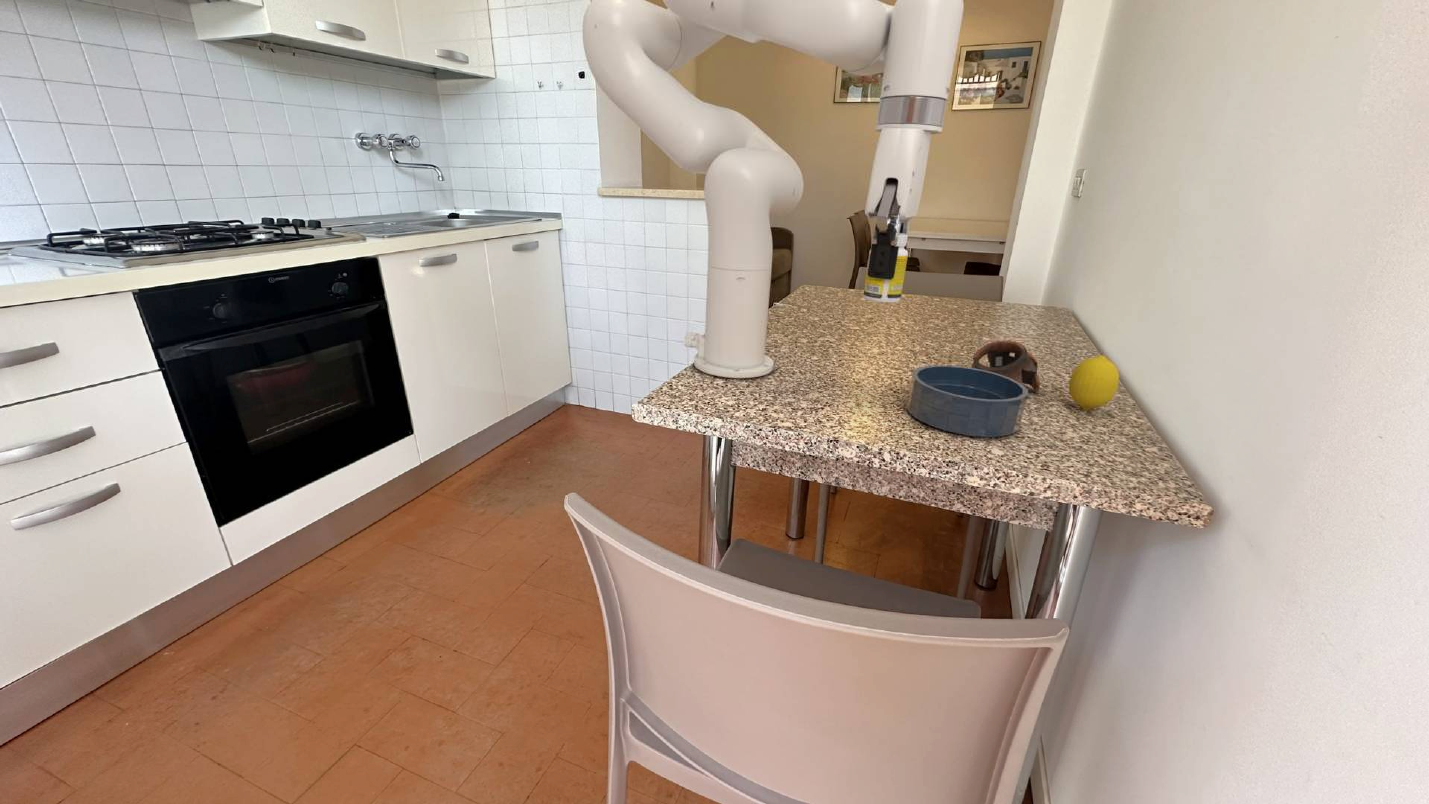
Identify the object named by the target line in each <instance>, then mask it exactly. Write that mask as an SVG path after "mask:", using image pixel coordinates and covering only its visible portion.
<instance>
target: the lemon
mask: <svg viewBox="0 0 1429 804" xmlns="http://www.w3.org/2000/svg"><path fill="white" fill-rule="evenodd" d="M1119 384H1120V373H1119V369H1118V368H1117V366H1116V365H1115V363H1114V362H1112V361H1111V360H1110V359H1108V358H1107V357H1106V355H1103V354H1099V355H1097V356H1092V357H1088V358H1086V359H1084V360H1083V361H1081V362H1079V363H1078V365H1076V367H1075V368H1074V370H1073V372H1072V373H1071V376H1070V378H1069V383H1068V391H1069V392H1068V393H1069V395H1070V398H1071V399H1072V401H1074V402H1075V403H1076V404H1078V405H1079V406H1080V408H1081V409H1082V410H1083V411H1086V412H1088V411H1090V410H1092V409H1096V408H1101V407H1103V406H1105V405H1107V404H1109V403H1110V402H1111V401H1112V399H1113V398H1114V397H1115V395H1116V393H1117V391H1118V388H1119Z"/></svg>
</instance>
